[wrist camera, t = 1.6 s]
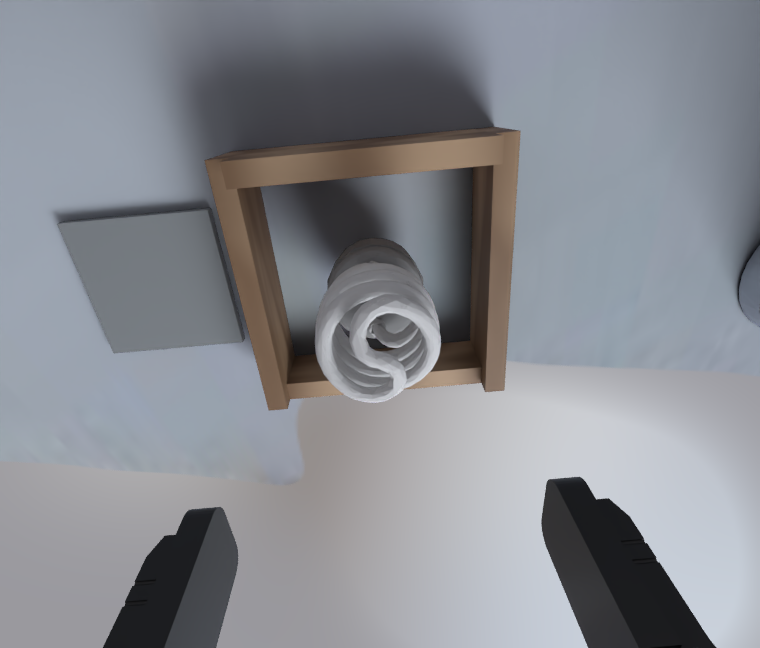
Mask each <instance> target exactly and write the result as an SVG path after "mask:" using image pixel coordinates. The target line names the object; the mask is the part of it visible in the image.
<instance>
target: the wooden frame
mask: <svg viewBox="0 0 760 648" xmlns="http://www.w3.org/2000/svg"><path fill="white" fill-rule="evenodd" d="M519 146H520V131H518V130H511V129H505V128H499V127H488V128H477V129H467V130H456V131H445V132H435V133H424V134H413V135H403V136H392V137H381V138H370V139H360V140H349V141H338V142H328V143H317V144H306V145H296V146H285V147H274V148H264V149H253V150H242V151H231V152H228V153H225V154H222V155H219V156H216V157H213V158H210V159H207V160H204V161H205V164H206V168H207V172H208V176H209V180H210V184H211V188H212V192H213V196H214V199H215V203H216V207H217V211H218V215H219V219H220V223H221V227H222V230H223V234H224V238H225V242H226V246H227V250H228V254H229V258H230V261H231V265H232V269H233V273H234V277H235V281H236V285H237V289H238V293H239V296H240V300H241V304H242V308H243V312H244V316H245V320H246V324H247V327H248V331H249V335H250V339H251V343H252V347H253V351H254V355H255V359H256V362H257V366H258V370H259V374H260V378H261V382H262V386H263V390H264V393H265V397H266V401H267V405H268V409H269V410H279V409H288V405H289V401H290V399H298V398H310V397H321V396H333V395H345V394H343V393H341V392H340V391H339V390H338V389H337V388H335V387H334V386H333V385H332V384H331V383H330V381H329V380H328V379H327V378H326V376H325V375H324V374H323V371H322V369H321V367H320V365H319V363H318V361H317V356H316V354H310V355H298V356H295V354H294V349H293V344H292V339H291V334H290V329H289V325H288V320H287V315H286V310H285V305H284V300H283V295H282V291H281V286H280V281H279V276H278V271H277V266H276V262H275V257H274V252H273V247H272V242H271V237H270V233H269V228H268V223H267V218H266V213H265V208H264V204H263V199H262V194H261V189H260V186H271V185H282V184H293V183H304V182H315V181H325V180H336V179H347V178H358V177H369V176H380V175H390V174H401V173H412V172H423V171H434V170H445V169H455V168H466V167H473V191H472V253H471V316H470V341H460V342H448V343H441V348H440V354H439V357H438V359H437V361H436V363H435V365H434V367H433V368H432V370H431V371H430V372H429V373H428V374H427V375H426V376H425V377H424V378H423V379H421V380H420V381H419V382H417V383H415V384H414V385H412V386H410V387H408V388H405V389H415V388H427V387H438V386H450V385H462V384H474V383H482V385H483V388H484V390H485V392H492V391H503V390H504V386H505V370H506V354H507V338H508V322H509V306H510V290H511V274H512V258H513V242H514V226H515V210H516V194H517V178H518V162H519ZM399 348H400V347H399ZM394 349H397V348H392V347H391V348H379V349H374V350H375V351H389V350H394ZM403 390H404V389H403Z"/></svg>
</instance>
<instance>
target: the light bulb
mask: <svg viewBox="0 0 760 648" xmlns="http://www.w3.org/2000/svg"><path fill="white" fill-rule="evenodd" d="M340 324H341V325H342V326H343V327H344V328H345V329H347V330H348V331H350V338H348V336H347V335H346V334H345V333H344V331H343V329H342V328H341V326H340ZM366 337H367V338H373V339H374V338H377V339H378V340H379V341H380V342H381V343H382V344H383V345H386V346H388V347H392V348H397V349H394V350H389V351H375V350H374V349H372V348H371V347H370V346H369V344H368V342H367V339H366ZM399 347H400V348H399ZM440 348H441V336H440V328H439V320H438V316H437V313H436V310H435V306H434V303H433V301H432V298H431V297H430V295H429V293H428V292H427V291H426V289H425V287H424V286H423V277H422V275H421V273H420V271H419V270H418V268H417V266H416V264H415V262H414V261H413V259H412V258H411V257H410V255H409V254H408V253H407V251H406V250H405V249H404V248H403V247H402V246H400V245H398V244H397V243H395V242H393V241H390V240H386V239H383V238H368V239H364V240H360V241H357V242H356V243H354V244H353V245H351V246H349V247H348V248H346V249H345V250H344V252H343V253H342V254H341V255H340V257H339V258H338V259H337V261H336V262H335V264H334V267H333V269H332V271H331V274H330V276H329V278H328V289H327V291H326V293H325V294H324V297H323V299H322V302H321V304H320V307H319V311H318V315H317V320H316V324H315V351H316V356H317V361H318V363H319V365H320V367H321V369H322V371H323V374H324V375H325V376H326V378H327V379H328V380H329V381H330V383H331V384H332V385H333V386H334V387H335V388H337V389H338V390H339V391H340V392H341V393H343V394H345V395H347V396H349V397H350V398H352V399H355V400H359V401H363V402H371V403H377V402H383V401H387V400H388V399H390V398H392V397H394V396H396V395H397V394H399V393H400V392H401V391H402V390H403V389H405V388H408V387H410V386H412V385H414V384H415V383H417V382H419V381H420V380H421V379H423V378H424V377H425V376H426V375H427V374H428V373H429V372H430V371H431V370H432V368H433V367H434V365H435V363H436V361H437V359H438V357H439V354H440Z"/></svg>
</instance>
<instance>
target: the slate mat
mask: <svg viewBox="0 0 760 648" xmlns="http://www.w3.org/2000/svg"><path fill="white" fill-rule="evenodd" d="M57 225H58V227H59V229H60V232H61V234H62V236H63V238H64V241H65V243H66V245H67V248H68V250H69V252H70V255H71V257H72V259H73V261H74V264H75V266H76V268H77V271H78V273H79V275H80V277H81V280H82V282H83V284H84V287H85V289H86V291H87V293H88V296H89V298H90V300H91V303H92V305H93V307H94V310H95V312H96V314H97V316H98V319H99V321H100V323H101V326H102V328H103V330H104V332H105V335H106V337H107V339H108V342H109V344H110V346H111V349H112V351H113V353H123V352H135V351H146V350H158V349H169V348H181V347H192V346H204V345H215V344H227V343H238V342H243V341H244V339H245V336H244V332H243V328H242V324H241V321H240V317H239V313H238V309H237V305H236V302H235V298H234V294H233V290H232V287H231V283H230V279H229V275H228V271H227V268H226V264H225V260H224V256H223V252H222V249H221V245H220V241H219V237H218V234H217V230H216V226H215V222H214V218H213V215H212V211H211V208H204V209H194V210H183V211H172V212H161V213H150V214H139V215H128V216H117V217H106V218H95V219H84V220H74V221H63V222H61V223H58V224H57Z"/></svg>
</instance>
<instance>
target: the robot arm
mask: <svg viewBox="0 0 760 648" xmlns="http://www.w3.org/2000/svg"><path fill="white" fill-rule="evenodd" d="M739 301H740V304H741V307H742V311H743V312H744V314H745V315H746V316H747V318H748V319H749V320H750V321H752V322H753V323H754V324H756V325H757V326H759V327H760V245H759V247H758V248H757V249H756V251H755V252H754V254H753V255H752V257H751V258H750V260H749V261H748V263H747V265H746V268H745V270H744V272H743V275H742V278H741V282H740V287H739ZM542 532H543V537H544V541H545V544H546V547H547V549H548V552H549V554H550V557H551V559H552V562H553V564H554V566H555V569H556V571H557V573H558V576H559V578H560V581H561V583H562V586H563V588H564V590H565V593H566V595H567V598H568V600H569V602H570V605H571V607H572V610H573V612H574V614H575V617H576V619H577V622H578V624H579V626H580V629H581V631H582V634H583V636H584V638H585V641H586V643H587V646H588V648H716V647H715V646H714V645H713V643H712V642H711V641H710V639H709V638H708V636H707V635H706V633H705V632H704V630H703V629H702V627H701V626H700V624H699V623H698V621H697V620H696V618H695V617H694V615H693V613H692V612H691V611H690V609H689V607H688V606H687V604H686V603H685V601H684V600H683V598H682V596H681V595H680V594H679V592H678V590H677V589H676V587H675V586H674V584H673V583H672V581H671V580H670V578H669V576H668V575H667V573H666V572H665V570H664V569H663V568H662V566H661V564H660V563H658V562H657V560H656V556H655V555H654V553H653V552H652V550H651V549H650V548H649V546H648V544H647V543H645V542H644V538H643V536H642V535H641V533H640V532H639V530H638V529H637V527H636V526H635V524H634V523H633V521H632V520H631V518H630V517H629V516H628V515H627V514H626V513H625V512H624V511H623V510H621V509H620V508H619V507H618V506H617V505H616V504H614V503H613V502H612V501H611V500H610V499H597V500H596V499H595V497H594V495H593V494H592V492H591V490H590V488H589V487H588V485H587V483H586V482H585V481H584V480H583V479H582V478H581V477H572V478H560V479H550V480H548V481H547V485H546V492H545V499H544V506H543V513H542ZM237 565H238V549H237V545H236V542H235V539H234V536H233V534H232V531H231V528H230V526H229V523H228V520H227V517H226V515H225V512H224V510H223V509H222V508H221V507H215V508H203V509H192V510H189V511H187V513H186V514H185V516H184V517H183V520H182V522H181V524H180V526H179V529H178V531H177V533H176V535H168V536H164V538H163V539H162V540H161V541H160V542H159V543H158V544H157V546H156V547H155V548H154V549H153V550H152V551H151V553H150V554H149V555H148V556H147V557H146V559H145V561H144V563H143V565H142V567H141V570H140V572H139V574H138V576H137V578H136V580H135V585H134V586H132V588H131V590H130V592H129V595H128V596H127V599H126V601H125V606H124V607H122V609H121V611H120V613H119V615H118V617H117V619H116V622H115V624H114V626H113V628H112V630H111V632H110V634H109V636H108V638H107V640H106V642H105V645H104V647H103V648H216V646H217V642H218V638H219V634H220V630H221V627H222V623H223V619H224V616H225V612H226V609H227V605H228V601H229V598H230V594H231V590H232V586H233V583H234V579H235V575H236V571H237Z"/></svg>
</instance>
